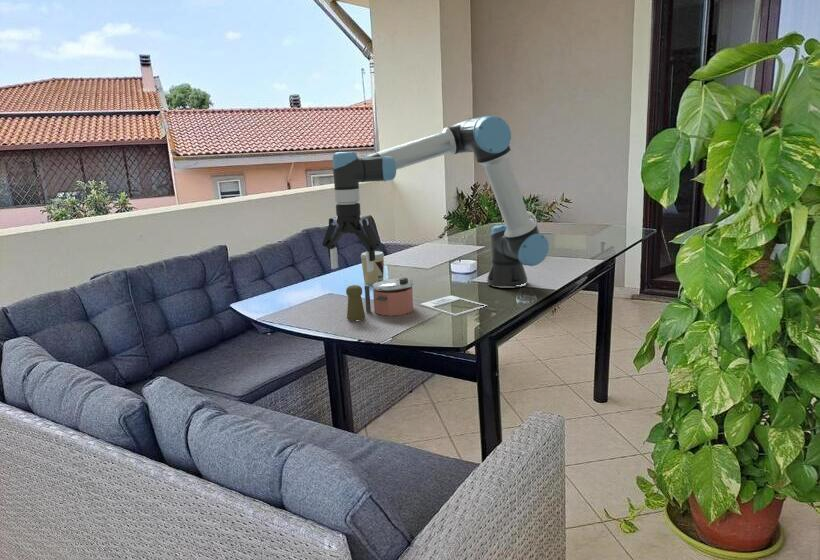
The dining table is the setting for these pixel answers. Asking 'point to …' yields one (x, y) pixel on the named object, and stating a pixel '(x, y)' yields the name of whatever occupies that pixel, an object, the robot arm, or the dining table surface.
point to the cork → (355, 303)
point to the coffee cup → (378, 268)
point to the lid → (393, 284)
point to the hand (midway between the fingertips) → (352, 269)
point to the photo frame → (445, 301)
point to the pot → (390, 301)
